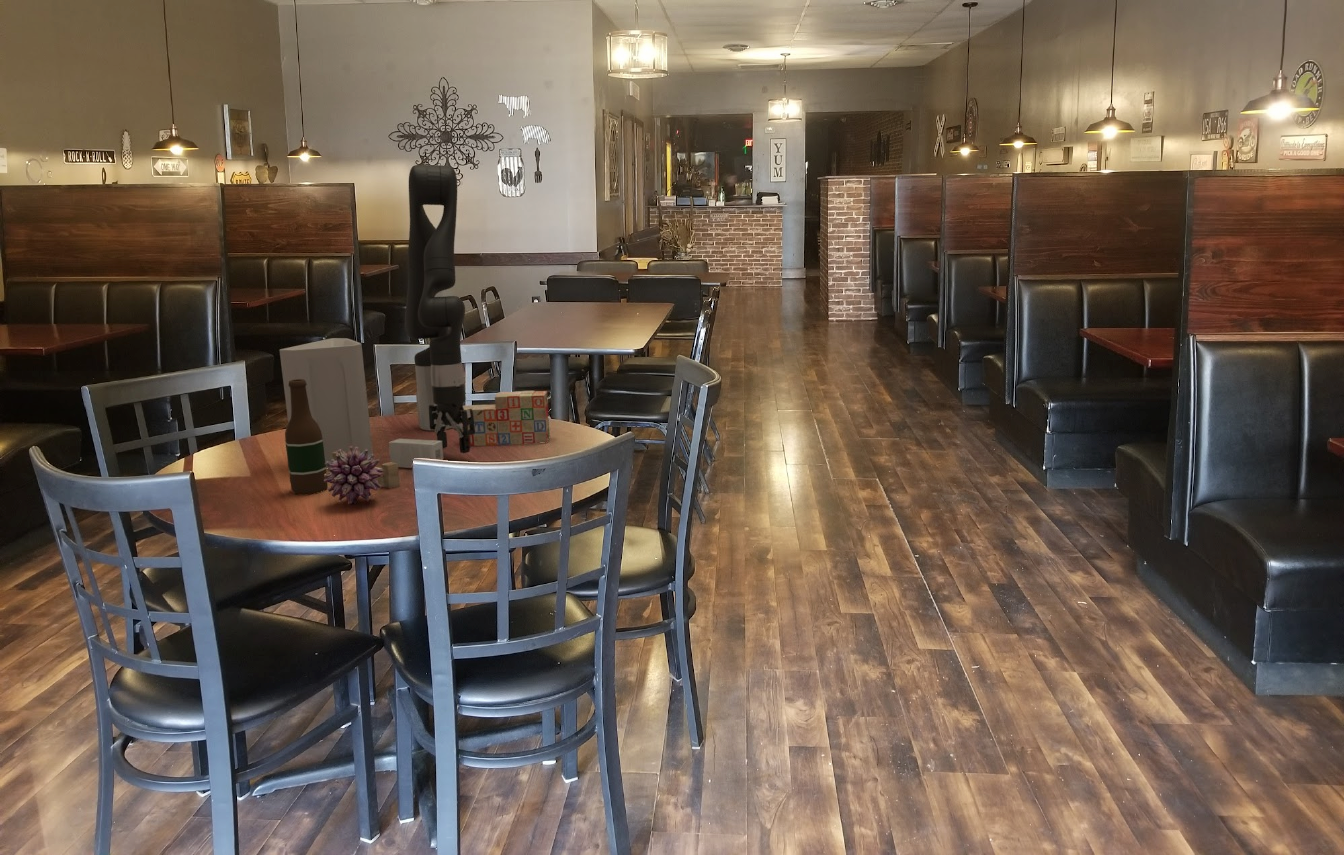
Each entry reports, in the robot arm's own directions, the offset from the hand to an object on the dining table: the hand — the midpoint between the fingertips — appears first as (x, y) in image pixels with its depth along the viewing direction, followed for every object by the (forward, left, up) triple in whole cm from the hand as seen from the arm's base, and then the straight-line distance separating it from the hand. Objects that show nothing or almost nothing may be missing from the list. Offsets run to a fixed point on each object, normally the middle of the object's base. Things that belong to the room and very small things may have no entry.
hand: (453, 450), depth 259 cm
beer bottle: (-3, -36, -2) cm, 36 cm away
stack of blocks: (-2, +18, -2) cm, 18 cm away
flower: (+15, -36, -2) cm, 39 cm away
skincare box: (+5, -8, +1) cm, 10 cm away
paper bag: (-20, -17, -2) cm, 26 cm away
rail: (0, -24, -2) cm, 24 cm away
